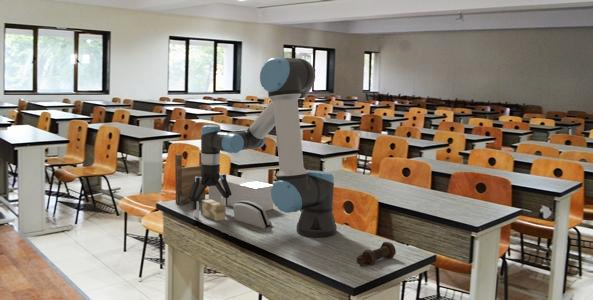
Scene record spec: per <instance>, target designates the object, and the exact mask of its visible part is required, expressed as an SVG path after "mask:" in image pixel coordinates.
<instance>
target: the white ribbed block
mask: <svg viewBox="0 0 593 300" xmlns="http://www.w3.org/2000/svg"><path fill="white" fill-rule="evenodd" d="M225 174H226V180H227V183H228V185H229V188H230V191H231V193H232V195H231V196H229V198H227V205H226V206H230V205H231V207H233V206H234V205H235V204H237V202H240V201H250V202H254V203H256V204H258V205H260V206H261V207H263V208H264V209H265V212H266V211H269V210H274V203H273V201H272V198H271V188H272V187H273V184H270V183H266V182H262V181H257V180H252V179H248V178H245V177H244V178H243V177H239V176H235V175H231V174H227V173H225ZM218 181H219V183H220V184H221V186H222V188H223V189H224V187H223V184H222V182H221V179H220V178H219V180H218ZM224 191H225V189H224ZM221 197H223V196H222V194H221V193H220V192H219V190H218V189H217V187H216V186H209V187H208V199H211V200H214V201H217V202H219V203H221Z"/></svg>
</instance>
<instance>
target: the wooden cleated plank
mask: <svg viewBox="0 0 593 300" xmlns="http://www.w3.org/2000/svg"><path fill="white" fill-rule="evenodd" d="M198 155H199V157H198V159H199V164H198V165H193V166H185V167H182V165H183V164H182V163H183V161H182V159H183V158H182V154H179V153H177V154H175V156H174V157H175V159H174V160H175V161H174V162H175V164H174V165H175V166H174V167H175V179H174V180H175V181H174V183H175V204H176V205H180V206H181V205H184V206H185V205H186V204H187V203H192V201H189V200H188V196H189V194H190V191H191V188H192V186H193V183H194V177H195V176H196V177H201V164H202V162H201V151H200V152H199V154H198ZM201 182H202V181H201ZM201 182H199V186H198V188H199V187H200V184H201ZM197 190H198V189H197ZM196 192H197V191H196ZM205 199H206V189H205V190H204V191H203V193H202V194H201V196H200V198H199V199H198V201H197V202H199V203H201V200H205Z"/></svg>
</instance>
